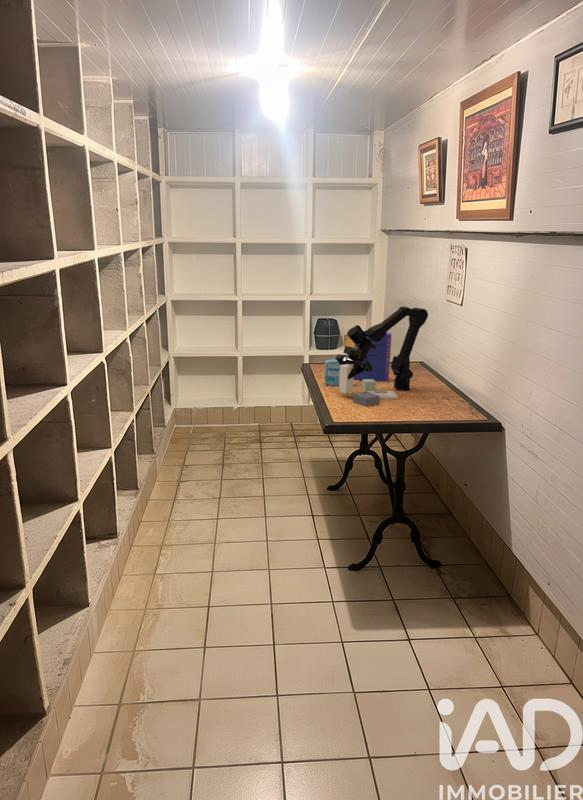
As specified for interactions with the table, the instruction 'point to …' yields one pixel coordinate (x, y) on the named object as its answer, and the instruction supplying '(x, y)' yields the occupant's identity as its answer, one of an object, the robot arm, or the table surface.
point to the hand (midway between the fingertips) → (344, 377)
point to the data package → (332, 372)
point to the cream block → (345, 379)
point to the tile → (384, 394)
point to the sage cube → (368, 385)
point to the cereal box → (378, 361)
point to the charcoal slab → (366, 398)
